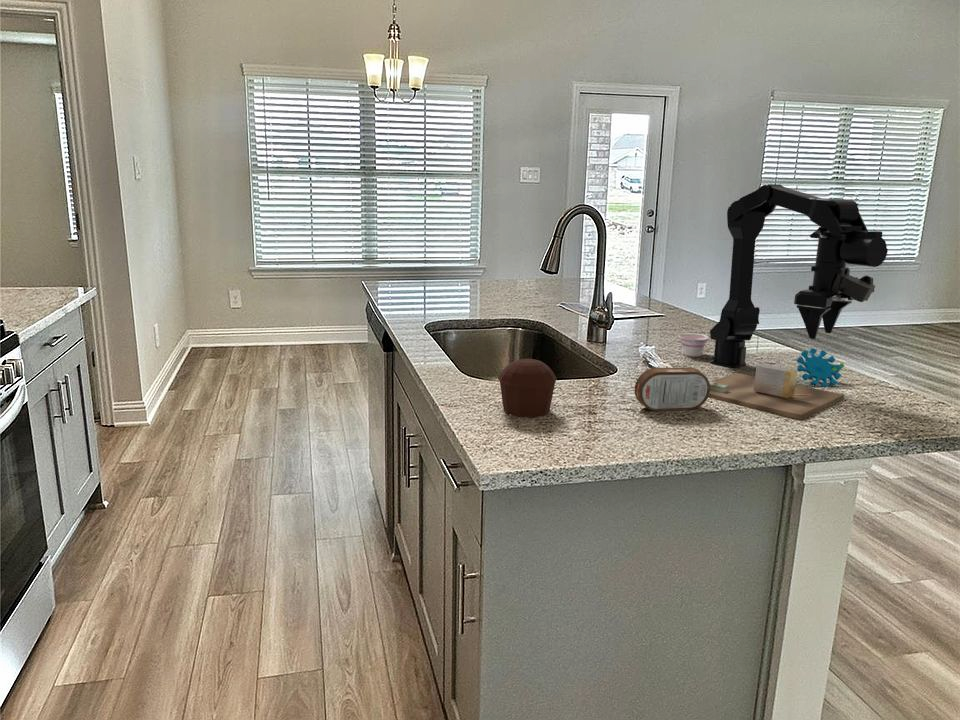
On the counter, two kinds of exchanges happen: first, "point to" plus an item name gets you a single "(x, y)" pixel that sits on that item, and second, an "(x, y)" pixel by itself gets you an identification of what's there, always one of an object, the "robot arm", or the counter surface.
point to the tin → (672, 389)
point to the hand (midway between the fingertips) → (820, 335)
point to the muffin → (527, 388)
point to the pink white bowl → (693, 344)
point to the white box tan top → (775, 380)
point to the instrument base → (771, 397)
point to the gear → (819, 368)
